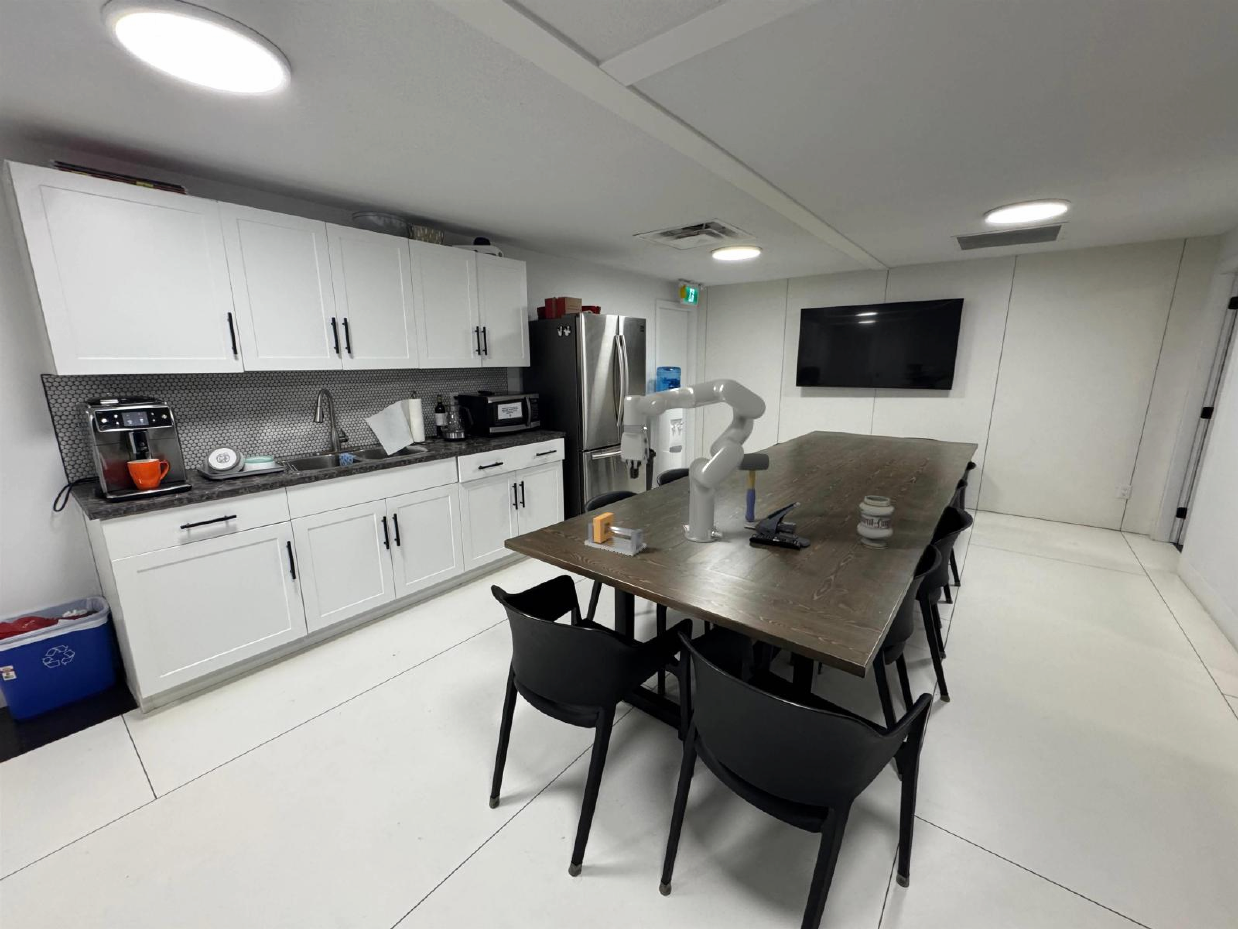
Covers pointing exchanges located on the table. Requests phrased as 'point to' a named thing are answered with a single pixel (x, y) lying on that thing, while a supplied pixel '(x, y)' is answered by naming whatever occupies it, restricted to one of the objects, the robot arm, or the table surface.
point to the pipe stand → (618, 540)
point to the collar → (599, 527)
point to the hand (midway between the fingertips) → (634, 477)
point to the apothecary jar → (875, 521)
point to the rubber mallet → (752, 478)
